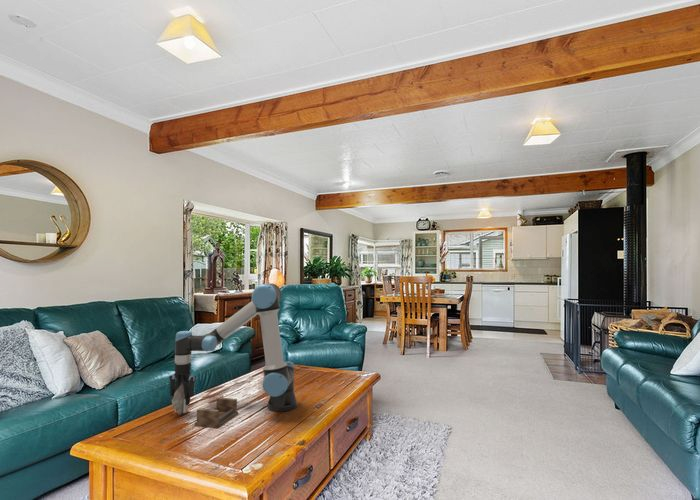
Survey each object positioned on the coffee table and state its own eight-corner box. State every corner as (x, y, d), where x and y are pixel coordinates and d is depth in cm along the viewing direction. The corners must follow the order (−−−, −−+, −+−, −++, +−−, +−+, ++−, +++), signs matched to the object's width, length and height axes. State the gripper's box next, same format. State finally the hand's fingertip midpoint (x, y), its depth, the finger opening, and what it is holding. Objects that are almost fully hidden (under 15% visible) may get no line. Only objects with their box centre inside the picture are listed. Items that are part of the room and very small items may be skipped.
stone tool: (174, 418, 182) (175, 386, 183) (169, 417, 183) (170, 385, 184) (192, 411, 192) (193, 381, 193) (187, 410, 193) (188, 380, 194)
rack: (238, 414, 188) (238, 399, 189) (218, 428, 171) (218, 411, 171) (216, 412, 191) (217, 397, 191) (194, 425, 173) (195, 409, 174)
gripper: (202, 362, 191) (201, 409, 189) (172, 360, 195) (171, 407, 193) (193, 365, 184) (192, 415, 182) (162, 363, 187) (160, 412, 186)
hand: (181, 411), depth 188 cm, fingers closed on stone tool, 4 cm apart
